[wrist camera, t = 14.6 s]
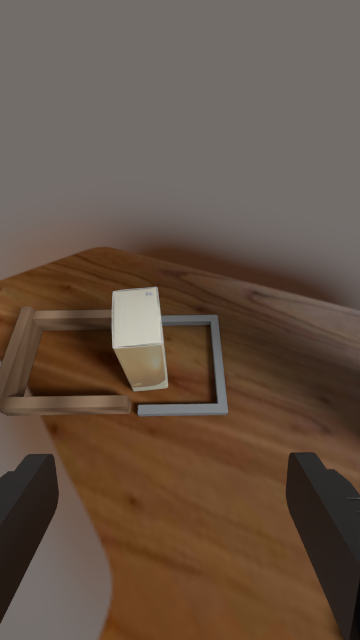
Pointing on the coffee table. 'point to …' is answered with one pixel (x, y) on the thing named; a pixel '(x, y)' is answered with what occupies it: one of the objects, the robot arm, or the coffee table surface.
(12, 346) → the frame
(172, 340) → the coffee table surface
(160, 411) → the bracket
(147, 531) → the coffee table surface
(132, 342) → the skincare box
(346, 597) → the robot arm
